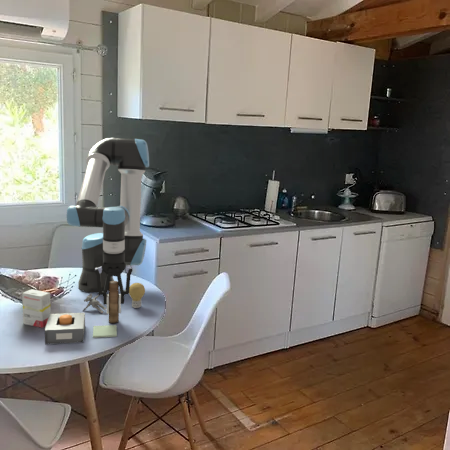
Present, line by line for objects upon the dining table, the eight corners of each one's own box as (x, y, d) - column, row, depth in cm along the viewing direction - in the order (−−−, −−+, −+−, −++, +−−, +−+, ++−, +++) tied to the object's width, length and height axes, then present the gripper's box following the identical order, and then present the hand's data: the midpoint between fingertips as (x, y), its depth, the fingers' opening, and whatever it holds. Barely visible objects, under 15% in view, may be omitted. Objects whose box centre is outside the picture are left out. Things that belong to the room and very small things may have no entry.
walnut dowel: (108, 319, 180) (108, 281, 177) (118, 318, 181) (118, 280, 178) (108, 323, 177) (108, 284, 173) (118, 322, 178) (118, 284, 174)
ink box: (52, 323, 175) (51, 292, 173) (42, 328, 171) (41, 296, 168) (32, 318, 178) (31, 288, 175) (22, 323, 173) (21, 292, 171)
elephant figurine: (92, 318, 182) (76, 304, 185) (97, 323, 187) (81, 310, 190) (110, 298, 185) (94, 285, 189) (115, 304, 190) (99, 291, 194)
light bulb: (141, 311, 190) (141, 287, 187) (125, 309, 191) (126, 285, 189) (147, 305, 196) (147, 281, 193) (132, 303, 197) (132, 279, 195)
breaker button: (60, 322, 168) (60, 314, 167) (72, 322, 169) (72, 314, 168) (59, 327, 164) (58, 319, 163) (71, 327, 165) (71, 319, 164)
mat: (93, 327, 174) (93, 326, 173) (116, 326, 175) (116, 324, 175) (92, 337, 166) (92, 336, 166) (116, 336, 168) (116, 334, 168)
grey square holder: (49, 327, 172) (49, 313, 171) (85, 325, 175) (84, 312, 174) (45, 344, 160) (44, 330, 158) (83, 342, 162) (83, 328, 161)
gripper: (89, 254, 167) (89, 317, 173) (138, 253, 171) (137, 315, 177) (90, 248, 174) (90, 308, 180) (137, 247, 178) (136, 307, 184)
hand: (113, 311), depth 178 cm, fingers closed on walnut dowel, 3 cm apart
